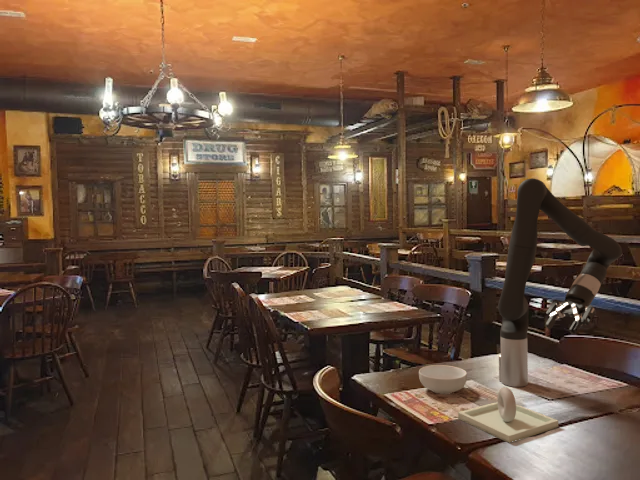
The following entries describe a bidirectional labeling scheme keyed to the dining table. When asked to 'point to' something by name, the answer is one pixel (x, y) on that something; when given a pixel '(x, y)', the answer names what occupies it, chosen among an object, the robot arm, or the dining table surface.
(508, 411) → the donut
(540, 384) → the dining table surface
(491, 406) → the tray
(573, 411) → the dining table surface
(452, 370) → the cereal bowl
